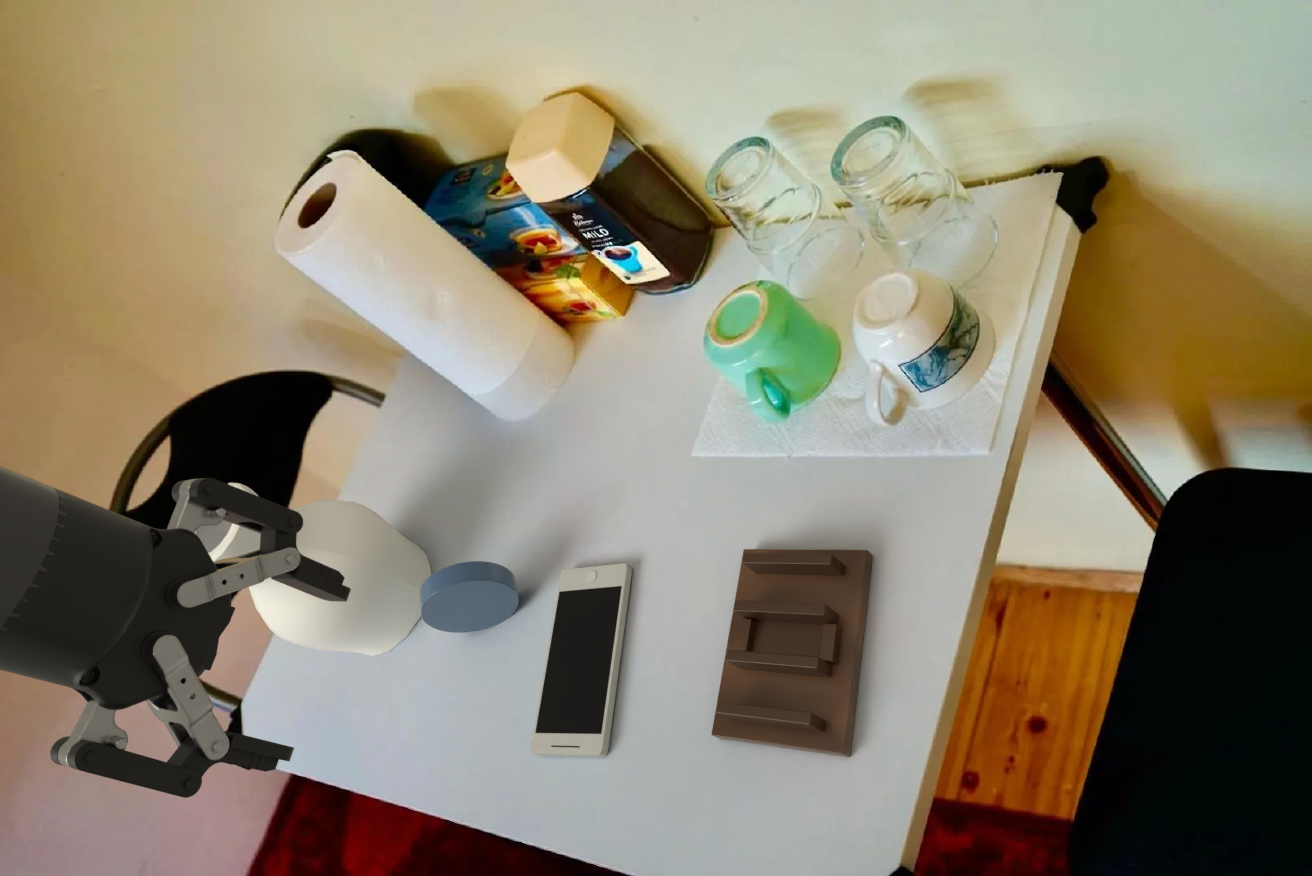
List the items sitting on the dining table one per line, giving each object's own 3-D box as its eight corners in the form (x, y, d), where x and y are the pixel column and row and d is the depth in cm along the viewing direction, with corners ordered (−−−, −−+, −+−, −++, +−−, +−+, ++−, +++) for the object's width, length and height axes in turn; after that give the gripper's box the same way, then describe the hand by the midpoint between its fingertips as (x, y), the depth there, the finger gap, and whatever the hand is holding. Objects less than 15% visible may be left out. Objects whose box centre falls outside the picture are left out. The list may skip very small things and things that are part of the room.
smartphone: (633, 565, 75) (626, 562, 75) (607, 757, 68) (600, 754, 68) (566, 572, 79) (560, 569, 78) (536, 755, 72) (528, 753, 71)
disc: (522, 622, 82) (514, 572, 75) (429, 640, 80) (412, 591, 74) (519, 603, 83) (511, 553, 77) (428, 621, 82) (411, 571, 75)
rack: (850, 757, 59) (828, 746, 56) (719, 738, 64) (693, 728, 62) (873, 555, 64) (854, 537, 62) (750, 554, 70) (728, 537, 67)
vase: (453, 525, 90) (290, 437, 76) (419, 666, 84) (233, 599, 70) (360, 538, 98) (195, 461, 84) (322, 669, 92) (136, 609, 77)
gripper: (-67, 755, 32) (307, 822, 43) (113, 405, 38) (400, 546, 49) (-134, 733, 36) (223, 800, 47) (38, 422, 42) (318, 548, 53)
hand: (313, 670), depth 48 cm, fingers open, 8 cm apart
